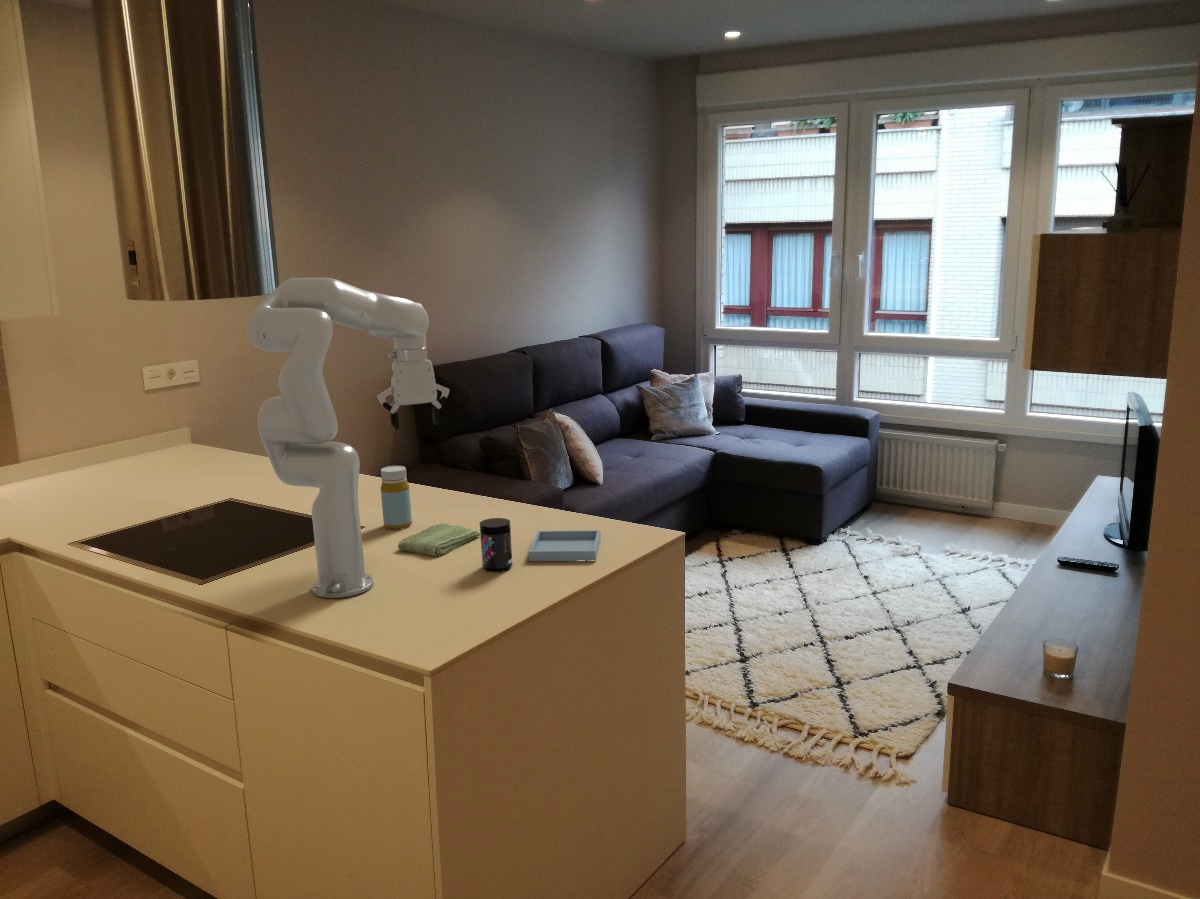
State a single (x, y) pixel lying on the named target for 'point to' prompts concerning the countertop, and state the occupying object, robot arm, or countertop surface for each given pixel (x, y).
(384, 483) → the bottle
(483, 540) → the supplement container
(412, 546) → the washcloth
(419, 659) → the countertop surface
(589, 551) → the tray
